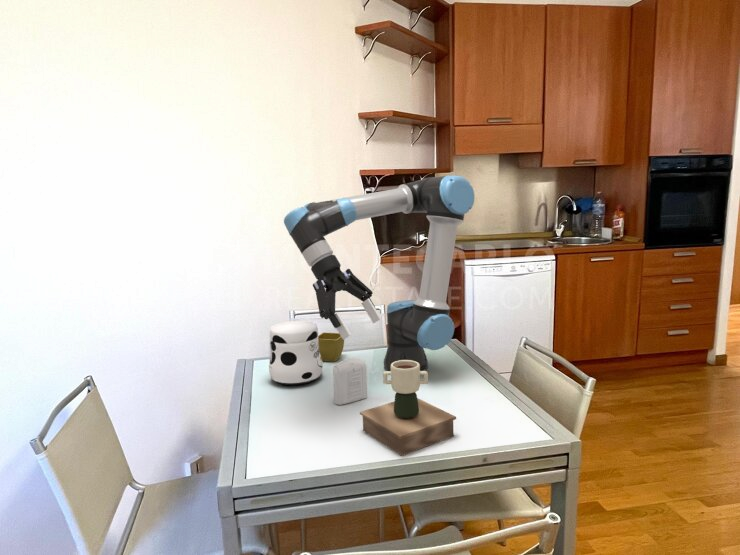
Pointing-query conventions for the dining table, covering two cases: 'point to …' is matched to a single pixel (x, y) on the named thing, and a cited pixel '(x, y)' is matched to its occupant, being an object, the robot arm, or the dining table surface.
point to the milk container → (294, 353)
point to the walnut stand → (408, 427)
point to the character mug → (405, 386)
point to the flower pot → (330, 346)
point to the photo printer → (350, 381)
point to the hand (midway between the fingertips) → (362, 329)
